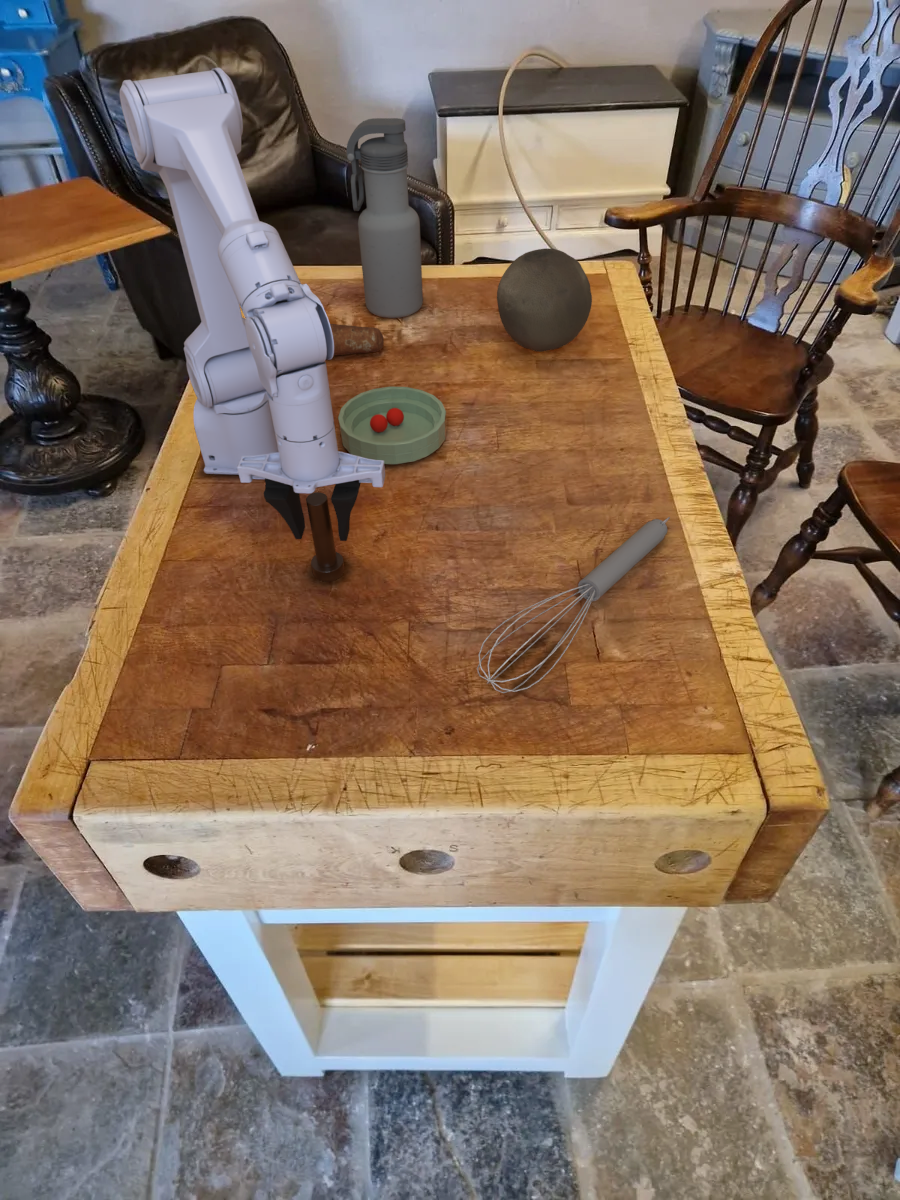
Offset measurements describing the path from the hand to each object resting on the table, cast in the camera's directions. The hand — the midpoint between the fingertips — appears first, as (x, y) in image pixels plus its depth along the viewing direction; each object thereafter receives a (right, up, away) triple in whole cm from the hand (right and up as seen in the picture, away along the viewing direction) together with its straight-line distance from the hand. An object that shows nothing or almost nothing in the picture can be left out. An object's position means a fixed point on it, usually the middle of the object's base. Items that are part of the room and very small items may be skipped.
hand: (322, 534), depth 86 cm
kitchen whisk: (+28, -8, -1) cm, 29 cm away
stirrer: (0, -4, +4) cm, 5 cm away
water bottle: (+4, +43, +50) cm, 66 cm away
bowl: (+6, +15, +23) cm, 28 cm away
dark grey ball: (+28, +32, +39) cm, 58 cm away
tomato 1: (+4, +17, +22) cm, 28 cm away
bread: (-6, +32, +40) cm, 51 cm away
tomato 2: (+6, +18, +23) cm, 30 cm away
